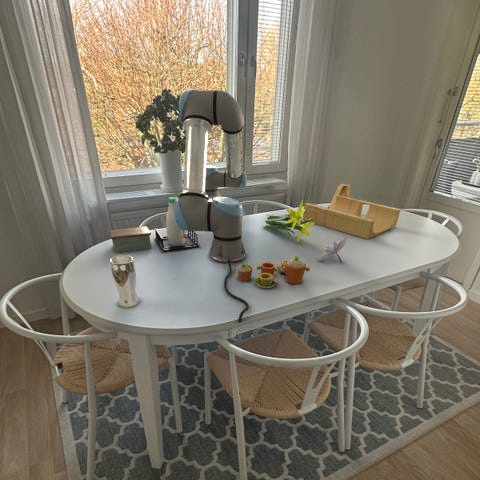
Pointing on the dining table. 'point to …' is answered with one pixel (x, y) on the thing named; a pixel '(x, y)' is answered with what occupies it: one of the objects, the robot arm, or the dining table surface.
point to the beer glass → (125, 279)
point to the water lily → (337, 247)
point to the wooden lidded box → (130, 239)
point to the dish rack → (175, 248)
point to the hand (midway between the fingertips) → (180, 215)
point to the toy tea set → (289, 267)
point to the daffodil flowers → (290, 221)
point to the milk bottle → (173, 226)
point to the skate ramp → (352, 215)
